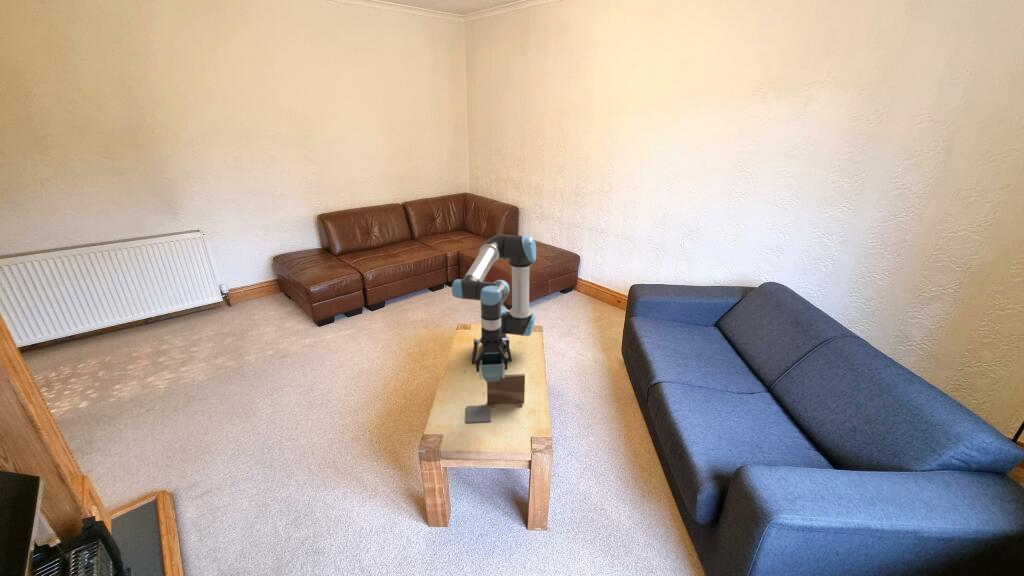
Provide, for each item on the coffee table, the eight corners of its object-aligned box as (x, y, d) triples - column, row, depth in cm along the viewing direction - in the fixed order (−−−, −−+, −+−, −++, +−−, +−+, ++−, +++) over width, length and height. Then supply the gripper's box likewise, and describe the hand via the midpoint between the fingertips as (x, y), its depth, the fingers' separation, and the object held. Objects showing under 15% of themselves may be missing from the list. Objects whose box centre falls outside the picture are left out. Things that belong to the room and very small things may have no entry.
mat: (466, 407, 169) (466, 406, 169) (489, 406, 170) (489, 404, 170) (466, 423, 160) (466, 422, 160) (490, 421, 161) (490, 420, 161)
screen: (487, 399, 174) (486, 372, 169) (523, 397, 176) (523, 371, 171) (487, 408, 169) (487, 380, 164) (524, 406, 170) (525, 379, 165)
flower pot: (480, 372, 161) (479, 353, 158) (502, 370, 162) (501, 352, 159) (481, 385, 153) (480, 365, 150) (504, 383, 154) (504, 364, 151)
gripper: (463, 332, 144) (465, 384, 153) (520, 329, 147) (519, 380, 155) (462, 323, 151) (464, 373, 160) (517, 320, 154) (517, 370, 162)
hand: (491, 376), depth 158 cm, fingers closed on flower pot, 8 cm apart
